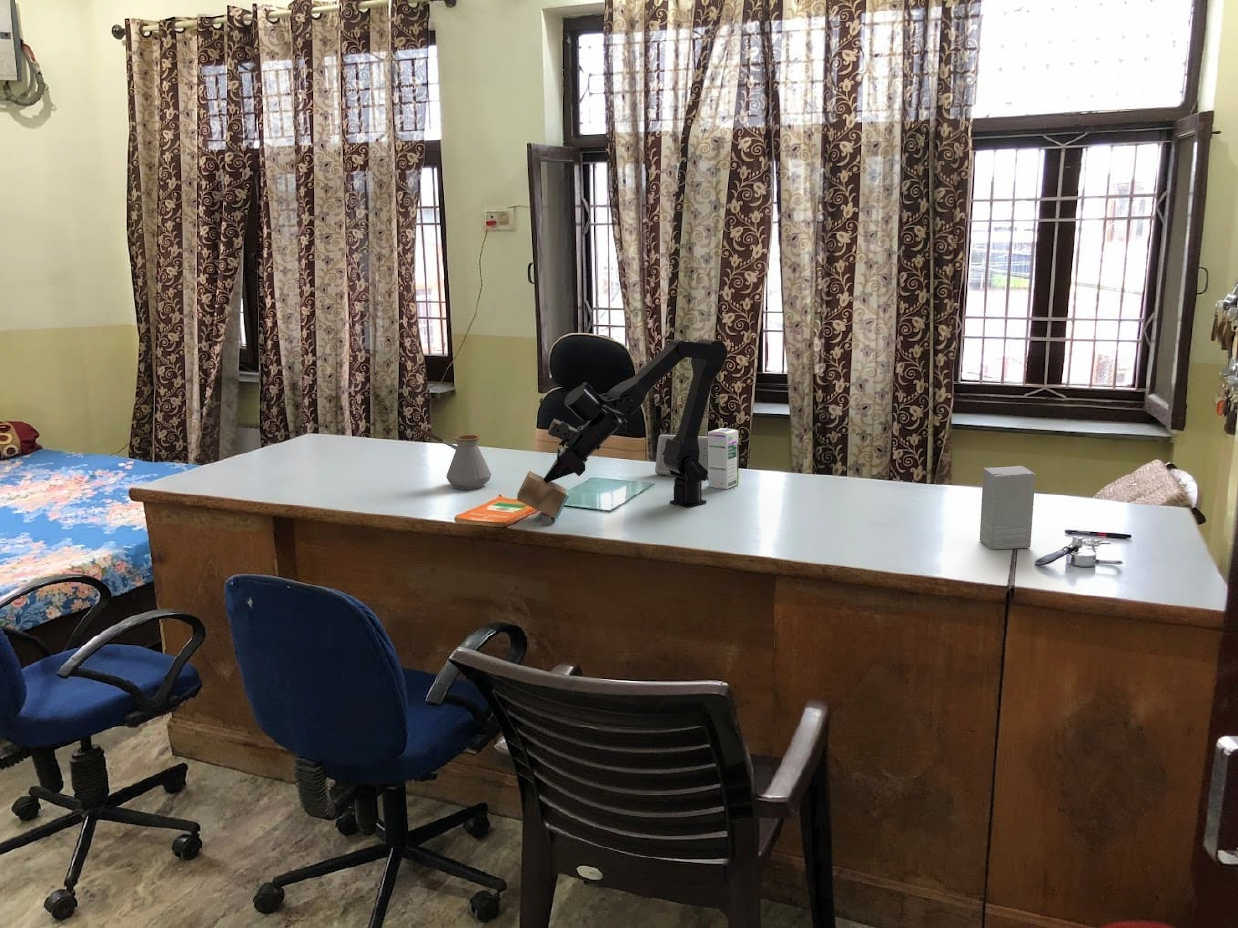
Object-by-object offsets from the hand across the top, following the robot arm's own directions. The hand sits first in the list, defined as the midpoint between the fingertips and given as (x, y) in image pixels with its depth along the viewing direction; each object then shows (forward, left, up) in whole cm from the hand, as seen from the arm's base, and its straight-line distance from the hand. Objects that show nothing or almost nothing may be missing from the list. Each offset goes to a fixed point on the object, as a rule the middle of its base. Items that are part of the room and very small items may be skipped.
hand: (544, 481), depth 220 cm
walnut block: (-3, +2, -6) cm, 7 cm away
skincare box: (-50, +84, -9) cm, 98 cm away
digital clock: (-53, -5, -9) cm, 54 cm away
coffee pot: (-5, -43, -9) cm, 44 cm away
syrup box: (-51, +10, -9) cm, 52 cm away
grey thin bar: (0, 0, -9) cm, 9 cm away
